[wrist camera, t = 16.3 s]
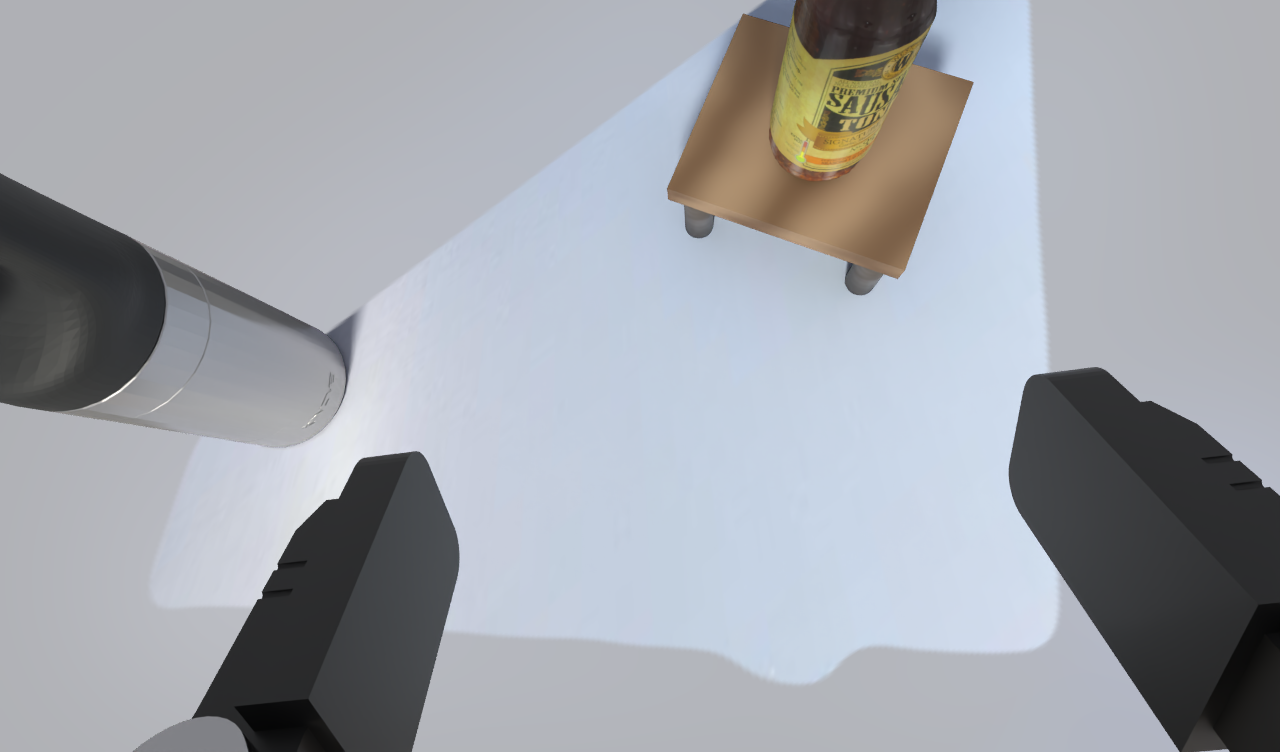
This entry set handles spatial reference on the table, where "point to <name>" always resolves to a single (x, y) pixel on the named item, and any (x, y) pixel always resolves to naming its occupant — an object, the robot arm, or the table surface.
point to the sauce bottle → (842, 80)
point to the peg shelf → (816, 210)
